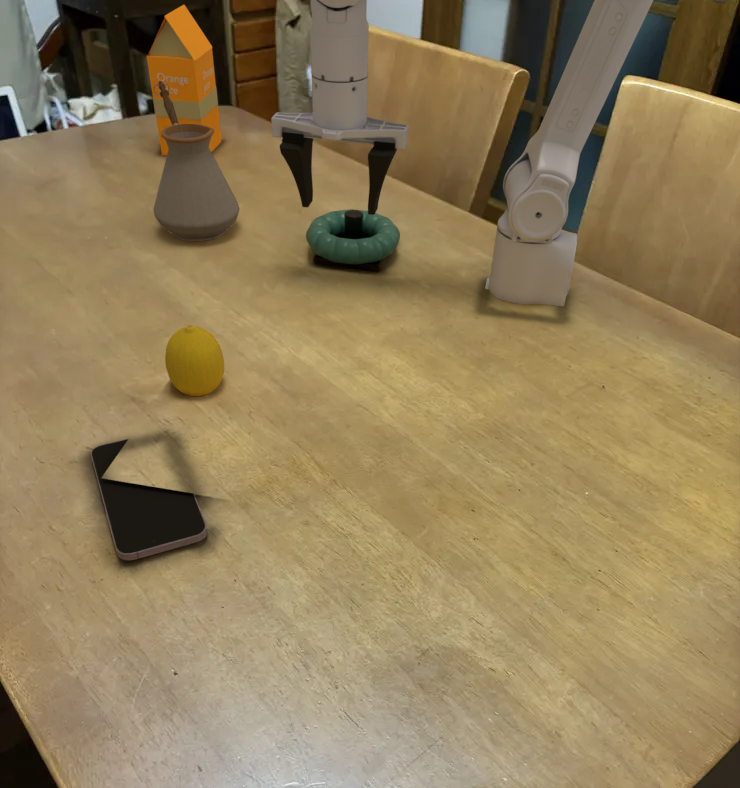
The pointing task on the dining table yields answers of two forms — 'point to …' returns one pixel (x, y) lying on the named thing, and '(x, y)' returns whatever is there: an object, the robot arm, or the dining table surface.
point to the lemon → (194, 361)
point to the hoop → (352, 249)
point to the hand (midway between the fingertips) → (339, 207)
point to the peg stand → (351, 231)
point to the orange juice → (184, 75)
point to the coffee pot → (192, 182)
